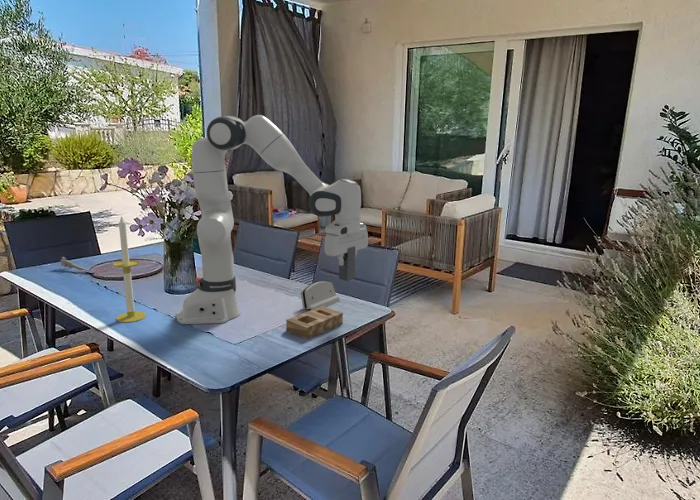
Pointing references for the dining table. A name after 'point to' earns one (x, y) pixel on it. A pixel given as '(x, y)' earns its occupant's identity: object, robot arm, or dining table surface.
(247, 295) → the dining table surface
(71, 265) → the caliper
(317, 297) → the grey piece
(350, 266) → the steel peg
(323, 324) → the socket block
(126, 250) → the candle
